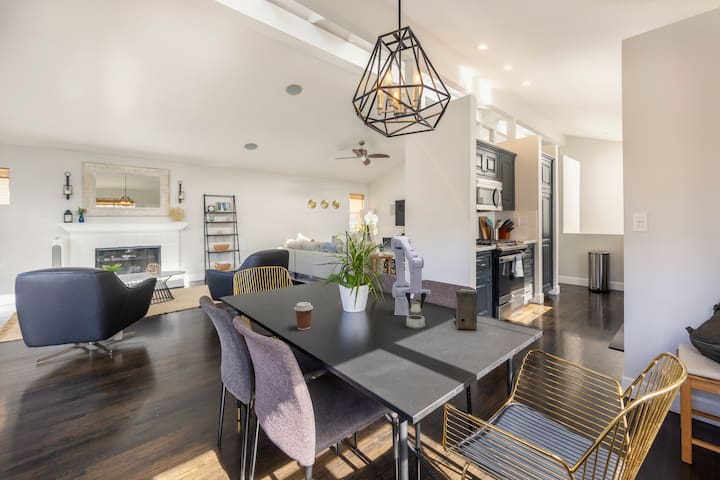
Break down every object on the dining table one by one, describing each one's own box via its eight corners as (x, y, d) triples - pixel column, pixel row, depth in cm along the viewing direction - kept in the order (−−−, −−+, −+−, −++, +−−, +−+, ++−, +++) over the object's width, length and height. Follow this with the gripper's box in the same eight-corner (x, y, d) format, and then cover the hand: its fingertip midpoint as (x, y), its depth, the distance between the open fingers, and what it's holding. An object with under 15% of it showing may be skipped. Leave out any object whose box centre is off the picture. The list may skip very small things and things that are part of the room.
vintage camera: (470, 321, 173) (469, 284, 173) (477, 330, 158) (477, 289, 157) (451, 321, 174) (451, 284, 174) (457, 330, 159) (456, 289, 158)
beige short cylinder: (410, 309, 168) (410, 301, 168) (420, 309, 168) (420, 301, 167) (410, 312, 163) (410, 303, 163) (420, 312, 163) (421, 304, 163)
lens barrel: (405, 322, 172) (405, 314, 172) (424, 322, 170) (424, 314, 170) (405, 328, 162) (405, 320, 162) (426, 329, 161) (426, 320, 160)
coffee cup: (308, 323, 169) (308, 300, 169) (316, 328, 162) (315, 304, 161) (291, 326, 165) (291, 303, 164) (298, 332, 157) (298, 307, 156)
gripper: (401, 282, 162) (401, 309, 163) (431, 283, 160) (431, 310, 161) (401, 279, 169) (401, 305, 170) (430, 280, 167) (429, 306, 168)
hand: (415, 308), depth 166 cm, fingers closed on beige short cylinder, 5 cm apart
